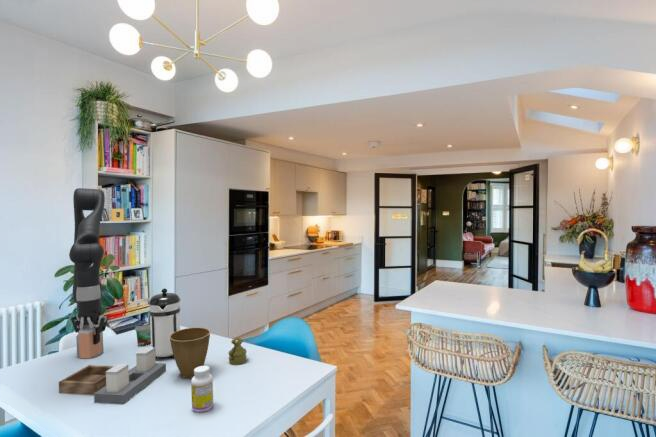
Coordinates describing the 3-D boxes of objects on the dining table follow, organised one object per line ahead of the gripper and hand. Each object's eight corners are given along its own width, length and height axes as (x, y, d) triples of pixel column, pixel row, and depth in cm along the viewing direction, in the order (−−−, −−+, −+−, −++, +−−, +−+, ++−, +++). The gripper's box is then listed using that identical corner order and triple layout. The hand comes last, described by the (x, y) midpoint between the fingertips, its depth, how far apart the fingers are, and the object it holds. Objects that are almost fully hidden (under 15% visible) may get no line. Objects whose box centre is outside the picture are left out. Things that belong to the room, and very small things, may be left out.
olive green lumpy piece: (225, 363, 155) (224, 340, 154) (235, 356, 161) (235, 334, 161) (239, 366, 152) (239, 342, 151) (250, 359, 159) (249, 336, 158)
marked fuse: (89, 358, 134) (88, 330, 134) (79, 357, 135) (78, 330, 135) (101, 351, 140) (100, 325, 140) (92, 351, 141) (91, 325, 140)
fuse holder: (123, 403, 124) (123, 395, 124) (94, 402, 125) (93, 393, 125) (166, 370, 149) (165, 363, 149) (141, 369, 150) (140, 362, 150)
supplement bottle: (195, 402, 124) (194, 364, 123) (215, 401, 124) (214, 363, 124) (189, 413, 117) (188, 373, 117) (210, 412, 118) (209, 372, 117)
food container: (147, 348, 173) (146, 327, 173) (135, 347, 175) (134, 326, 174) (163, 338, 185) (163, 319, 185) (153, 338, 187) (152, 318, 186)
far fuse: (146, 379, 142) (145, 353, 141) (136, 378, 142) (136, 353, 142) (155, 372, 147) (155, 347, 147) (146, 371, 148) (145, 347, 148)
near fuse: (117, 401, 126) (116, 372, 125) (106, 400, 126) (105, 371, 126) (129, 392, 132) (128, 364, 131) (119, 391, 132) (118, 364, 132)
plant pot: (164, 374, 145) (162, 334, 145) (199, 362, 156) (198, 325, 156) (181, 386, 135) (180, 343, 135) (218, 372, 146) (217, 332, 145)
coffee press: (193, 352, 167) (191, 286, 166) (161, 365, 154) (158, 293, 153) (169, 345, 176) (168, 282, 176) (137, 357, 163) (135, 289, 162)
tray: (59, 393, 132) (58, 381, 132) (89, 375, 146) (88, 365, 146) (94, 394, 130) (94, 383, 130) (121, 376, 144) (121, 366, 144)
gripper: (113, 295, 140) (115, 340, 140) (79, 295, 142) (81, 339, 142) (98, 300, 132) (100, 348, 133) (63, 300, 134) (64, 346, 135)
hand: (90, 343), depth 137 cm, fingers closed on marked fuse, 4 cm apart
